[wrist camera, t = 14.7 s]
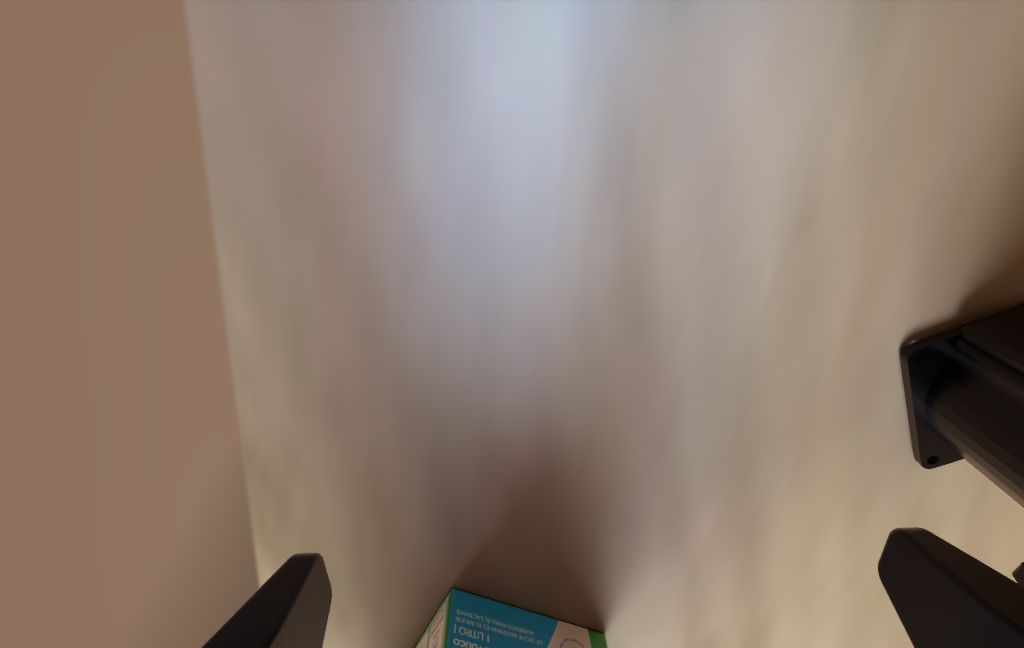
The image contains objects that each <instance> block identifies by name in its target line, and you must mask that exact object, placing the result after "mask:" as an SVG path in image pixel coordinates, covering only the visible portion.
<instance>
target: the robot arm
mask: <svg viewBox="0 0 1024 648" xmlns="http://www.w3.org/2000/svg"><path fill="white" fill-rule="evenodd" d="M918 354H920V355H919V356H918V357H917V358H915V357H916V356H917V355H918ZM901 366H902V373H903V380H904V387H905V394H906V401H907V409H908V416H909V423H910V430H911V437H912V445H913V452H914V458H915V460H916V461H917V462H918V463H919V464H920V465H921V466H922V467H924V468H925V469H932V468H936V467H939V466H943V465H946V464H949V463H952V462H955V461H958V460H961V459H965V460H967V461H968V462H969V463H970V464H972V465H973V466H974V467H975V468H976V469H978V470H979V471H980V472H981V473H982V474H984V475H985V476H986V477H987V478H988V479H990V480H991V481H992V482H993V483H995V484H996V485H997V486H998V487H999V488H1001V489H1002V490H1003V491H1004V492H1005V493H1007V494H1008V495H1009V496H1010V497H1011V498H1013V499H1014V500H1015V501H1016V502H1018V503H1019V504H1020V505H1021V506H1022V507H1024V304H1022V305H1019V306H1016V307H1013V308H1010V309H1008V310H1005V311H1002V312H999V313H996V314H994V315H991V316H988V317H985V318H982V319H980V320H977V321H974V322H971V323H968V324H966V325H963V326H960V327H957V328H954V329H952V330H949V331H946V332H943V333H940V334H938V335H935V336H932V337H929V338H926V339H924V340H921V341H918V342H915V343H912V344H910V345H909V346H907V347H906V348H905V349H904V350H903V351H902V353H901ZM878 572H879V576H880V579H881V582H882V584H883V586H884V588H885V590H886V592H887V594H888V596H889V598H890V600H891V602H892V604H893V606H894V608H895V610H896V612H897V614H898V616H899V618H900V620H901V622H902V624H903V626H904V628H905V630H906V632H907V634H908V636H909V638H910V640H911V642H912V644H913V646H914V648H1024V562H1022V563H1021V564H1020V565H1019V566H1018V567H1017V568H1016V569H1015V570H1014V571H1013V573H1012V575H1013V577H1014V578H1015V580H1016V581H1017V583H1016V582H1014V581H1013V580H1011V579H1009V578H1008V577H1006V576H1004V575H1002V574H1001V573H999V572H997V571H996V570H994V569H992V568H991V567H989V566H987V565H985V564H984V563H982V562H980V561H979V560H977V559H975V558H974V557H972V556H970V555H968V554H967V553H965V552H963V551H962V550H960V549H958V548H957V547H955V546H953V545H951V544H950V543H948V542H946V541H945V540H943V539H941V538H940V537H938V536H936V535H934V534H933V533H931V532H929V531H927V530H925V529H923V528H915V527H914V528H896V529H894V530H892V531H891V532H890V534H889V536H888V539H887V541H886V544H885V546H884V549H883V552H882V554H881V557H880V560H879V563H878ZM331 598H332V590H331V585H330V581H329V578H328V574H327V571H326V567H325V564H324V560H323V558H322V556H321V555H320V554H319V553H299V554H295V555H293V556H292V557H290V558H289V559H288V560H287V561H286V562H285V563H284V564H283V565H282V566H281V567H280V568H279V569H278V570H277V571H276V572H275V573H274V574H273V575H272V576H271V577H270V578H269V579H268V580H267V581H266V582H265V583H264V584H263V585H262V586H261V587H260V588H259V589H258V590H257V591H256V592H255V593H254V595H253V596H252V597H251V598H250V599H249V600H248V601H247V602H246V603H245V604H244V605H243V606H242V607H241V608H240V609H239V610H238V611H237V612H236V613H235V614H234V615H233V616H232V617H231V618H230V619H229V620H228V621H227V622H226V623H225V624H224V625H223V626H222V627H221V628H220V629H219V630H218V631H217V632H216V633H215V634H214V635H213V636H212V637H211V638H210V639H209V640H208V641H207V642H206V643H205V644H204V645H203V646H202V647H201V648H322V645H323V640H324V635H325V630H326V625H327V620H328V615H329V610H330V605H331Z"/></svg>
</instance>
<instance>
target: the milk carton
mask: <svg viewBox="0 0 1024 648" xmlns="http://www.w3.org/2000/svg"><path fill="white" fill-rule="evenodd" d="M415 648H608V647H607V642H606V636H605V634H602V633H599V632H595V631H592V630H589V629H586V628H582V627H579V626H576V625H572V624H569V623H566V622H562V621H559V620H556V619H552V618H549V617H546V616H542V615H539V614H536V613H533V612H529V611H526V610H523V609H519V608H516V607H513V606H509V605H506V604H503V603H499V602H496V601H493V600H489V599H486V598H483V597H480V596H476V595H473V594H470V593H466V592H463V591H460V590H456V589H453V588H452V589H451V591H450V592H449V594H448V596H447V597H446V599H445V601H444V602H443V604H442V605H441V607H440V609H439V610H438V612H437V613H436V615H435V617H434V618H433V620H432V621H431V623H430V625H429V626H428V628H427V630H426V631H425V633H424V634H423V636H422V638H421V639H420V641H419V642H418V644H417V646H416V647H415Z"/></svg>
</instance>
